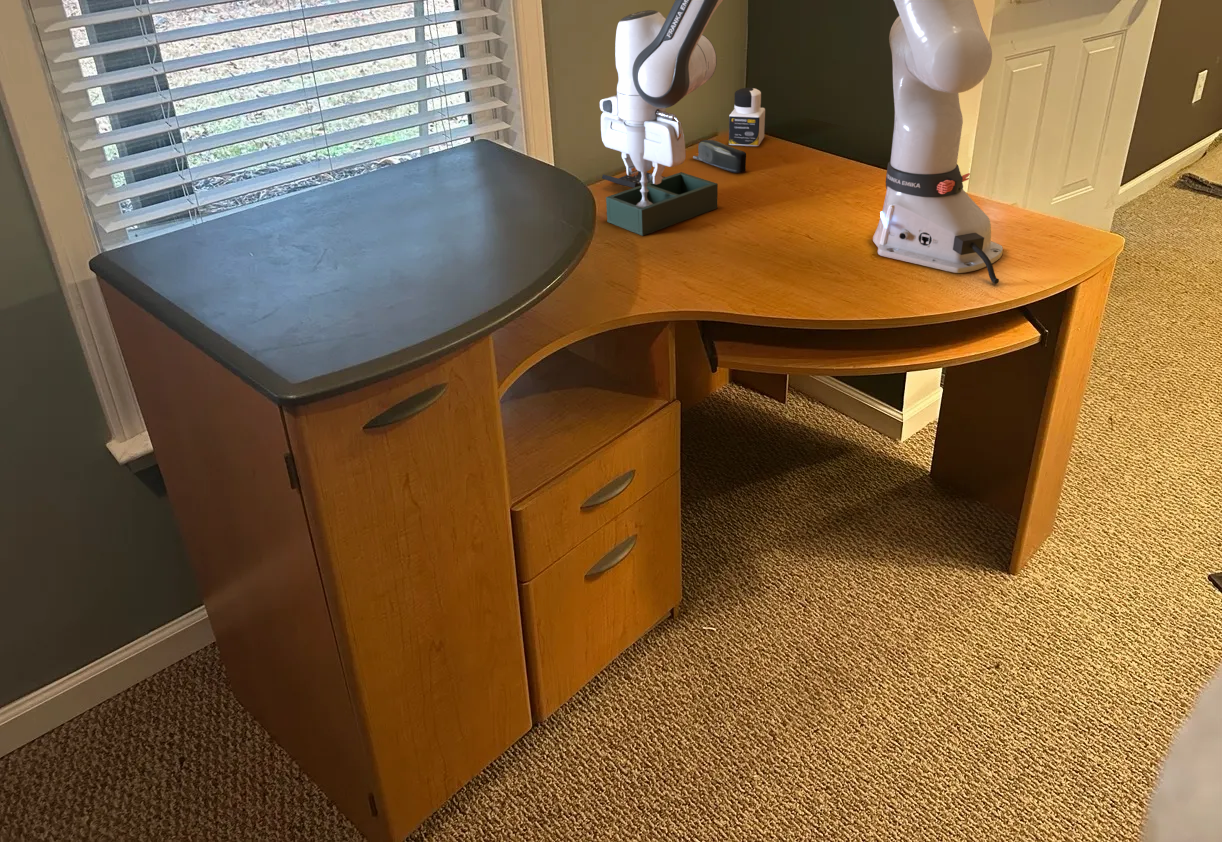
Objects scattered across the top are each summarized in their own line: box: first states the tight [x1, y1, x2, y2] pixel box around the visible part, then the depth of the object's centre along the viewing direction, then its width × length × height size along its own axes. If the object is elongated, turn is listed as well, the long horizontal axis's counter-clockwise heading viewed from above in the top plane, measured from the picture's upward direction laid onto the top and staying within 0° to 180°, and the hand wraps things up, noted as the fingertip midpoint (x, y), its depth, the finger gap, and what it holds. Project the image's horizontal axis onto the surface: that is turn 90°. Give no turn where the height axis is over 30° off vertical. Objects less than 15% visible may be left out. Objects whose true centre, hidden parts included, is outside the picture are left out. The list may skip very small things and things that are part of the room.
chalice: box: [624, 121, 653, 208], centre depth 187 cm, size 7×7×18 cm
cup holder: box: [605, 171, 719, 237], centre depth 193 cm, size 10×20×5 cm, turn 130°
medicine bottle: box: [728, 87, 766, 147], centre depth 229 cm, size 7×7×12 cm
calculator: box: [601, 171, 666, 189], centre depth 209 cm, size 9×12×3 cm
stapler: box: [692, 139, 747, 174], centre depth 217 cm, size 5×3×15 cm
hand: (643, 179), depth 188 cm, fingers closed on chalice, 5 cm apart
